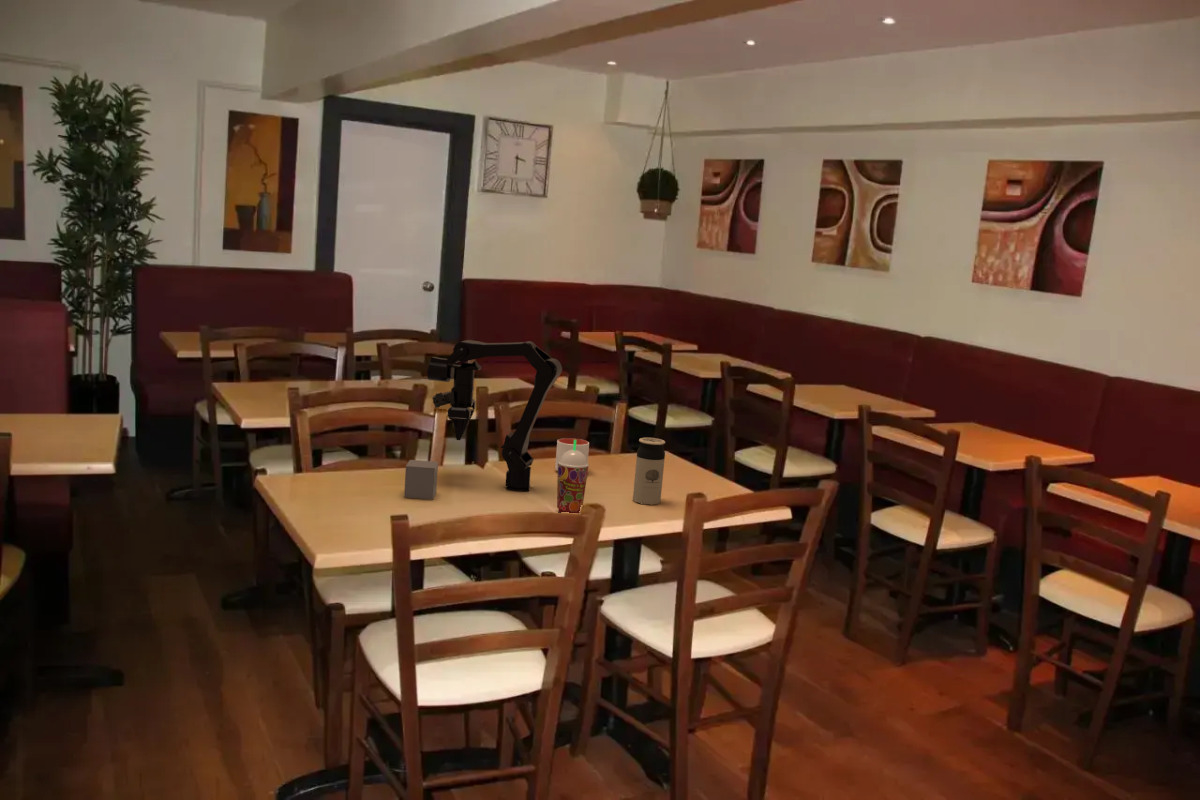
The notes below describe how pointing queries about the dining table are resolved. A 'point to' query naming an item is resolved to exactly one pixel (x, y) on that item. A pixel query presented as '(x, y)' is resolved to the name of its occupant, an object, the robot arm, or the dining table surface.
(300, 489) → the dining table surface
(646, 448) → the travel mug
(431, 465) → the grey matte cube
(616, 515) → the dining table surface
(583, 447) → the cup
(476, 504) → the dining table surface
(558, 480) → the smoothie
